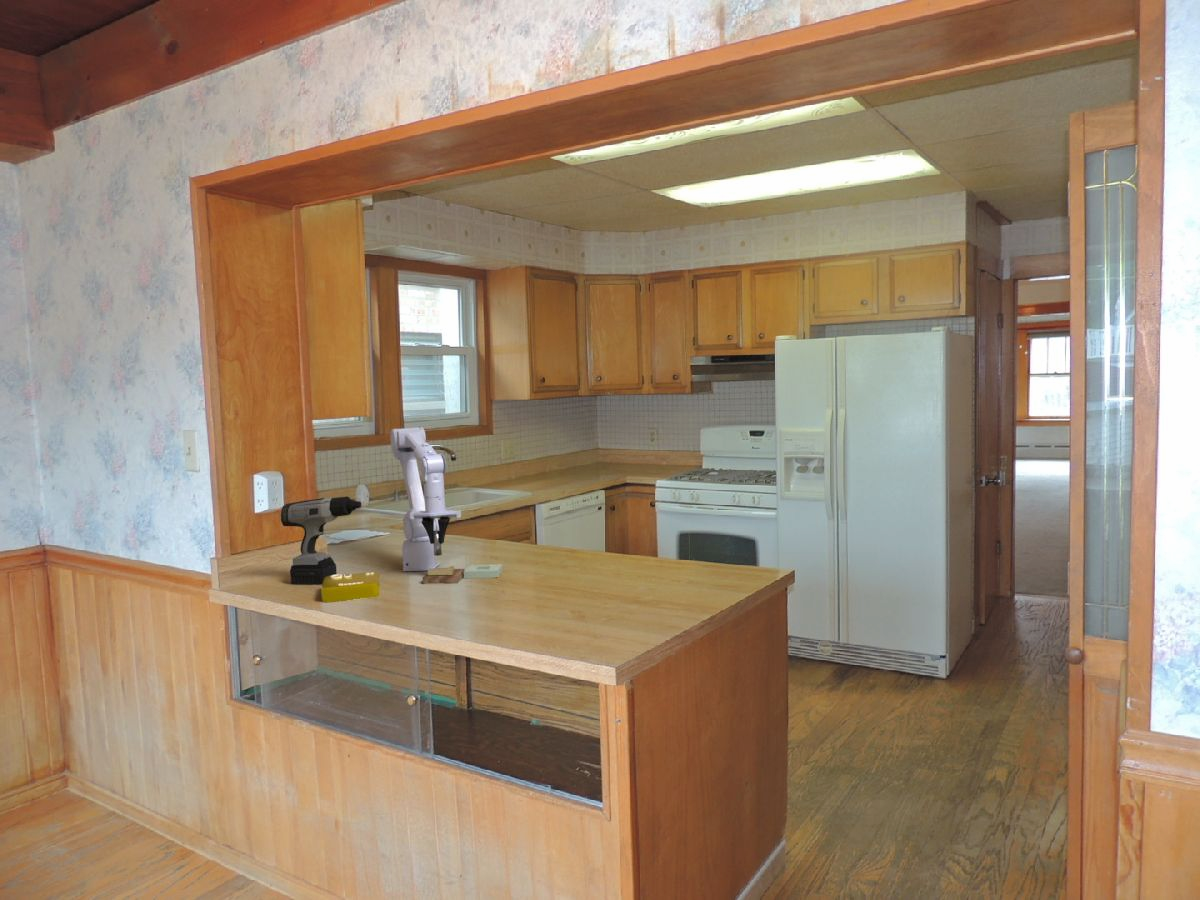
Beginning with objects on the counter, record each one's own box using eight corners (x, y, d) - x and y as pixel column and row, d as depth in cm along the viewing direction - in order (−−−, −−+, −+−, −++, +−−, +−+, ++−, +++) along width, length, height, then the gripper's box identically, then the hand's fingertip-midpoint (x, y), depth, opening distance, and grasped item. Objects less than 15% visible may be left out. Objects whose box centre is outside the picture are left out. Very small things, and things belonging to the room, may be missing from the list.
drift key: (427, 575, 243) (427, 568, 242) (429, 573, 245) (429, 566, 245) (452, 575, 242) (452, 568, 242) (454, 573, 244) (454, 566, 244)
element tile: (321, 604, 226) (320, 587, 226) (325, 591, 241) (324, 574, 240) (380, 599, 230) (379, 581, 229) (380, 585, 244) (379, 569, 244)
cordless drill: (359, 585, 244) (353, 498, 241) (281, 584, 249) (274, 499, 246) (371, 578, 251) (366, 494, 249) (296, 577, 256) (289, 495, 254)
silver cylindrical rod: (433, 555, 247) (431, 531, 246) (435, 554, 249) (433, 530, 249) (440, 555, 247) (439, 531, 246) (442, 553, 249) (441, 530, 249)
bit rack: (464, 578, 247) (463, 571, 247) (469, 571, 255) (469, 565, 255) (498, 577, 247) (498, 570, 247) (503, 570, 255) (502, 564, 254)
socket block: (423, 583, 243) (422, 577, 242) (431, 576, 252) (430, 569, 251) (458, 583, 242) (457, 576, 242) (464, 575, 251) (464, 568, 251)
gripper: (405, 499, 243) (408, 546, 244) (456, 497, 242) (458, 545, 243) (412, 495, 250) (415, 541, 251) (461, 494, 249) (464, 540, 250)
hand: (437, 543), depth 248 cm, fingers closed on silver cylindrical rod, 2 cm apart
